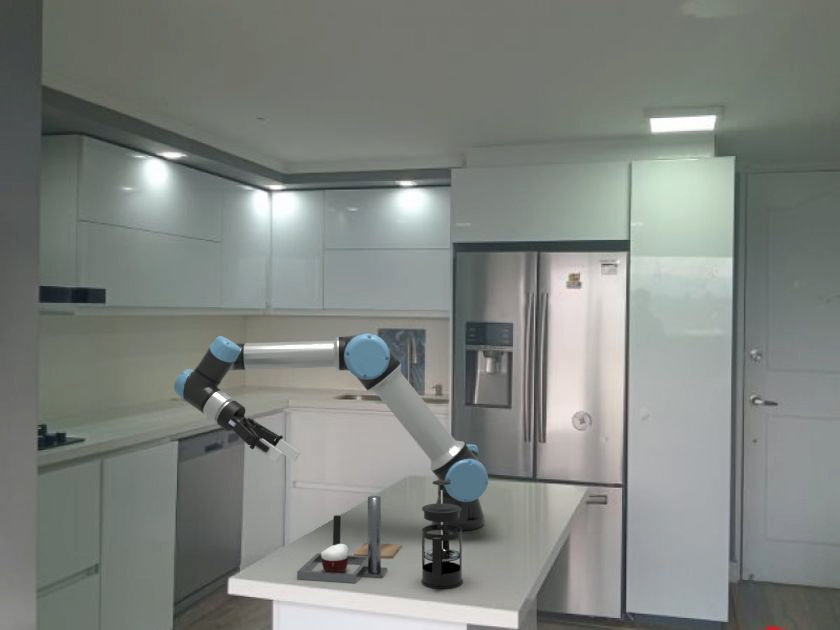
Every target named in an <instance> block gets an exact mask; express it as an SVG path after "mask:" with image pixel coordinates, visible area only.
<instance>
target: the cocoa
mask: <svg viewBox="0 0 840 630" xmlns="http://www.w3.org/2000/svg"><path fill="white" fill-rule="evenodd" d="M341 516H342V515H340V514H339V515H334V516H333V523H332V525H333V527H332V528H333V530H332V531H333V532H332V536H333V537H332V538H333V539H332V540H333V541H332V545H331V546H329V547H327V548H325V549H324V550H323V551H321V557H322V562H321V564H322V568H323V570H324V572H336V573H345V572H344V571H345V570H347V567H348V565H349V564H348V555H349V547H348V546H347V545H346V544H345V543H341V523H342V522H341V521H342V519H341Z"/></svg>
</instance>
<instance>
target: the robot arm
mask: <svg viewBox="0 0 840 630" xmlns="http://www.w3.org/2000/svg"><path fill="white" fill-rule="evenodd" d="M315 368H319V369H320V368H335V369H336V370H337V371H349V372H350V373H351V374H352V375H353V376H354V377H356V379H357V380H358V381H359V382H360V383H361V384H362V386H363V387H364V388H365V390H366V391H367V392H370V393H371V392H373V393H375V394H377V395H378V398H380V400H381V401H383V403H384V404H385V406H386V407H387V408H388V409H389V410H390V412H391V413H392V414H393V415H394V417H395V418H396V419H397V420H398V421H399V423H400V424H401V425H402V427H403V428H404V430H406V432H407V433H408V434H409V435H410V436H411V438H412V439H413V441H415V442H416V444H417V445H418V447H420V449H421V450H422V451H423V453H424V454H425V455H426V457H427V458H428V459H429V460H430V470H431V472H432V473H433V474H434V475H435V476H436V478H437V480H446V481H450V482H451V484H448V485H444V490H442V494H443V503H446V504H454V505H458V506H460V507H461V511H460V518H459V519H458V520H455V521H450V522H443V524H448V525H454V526H458V527H460V528H461V529H462V531H470V530H476V529H479V528H482V527H483V526H484V525H485V515H484V511H483V508H482V504H481V503H480V499H479V498H481V497H482V495H483V494H484V493H485V492H486V490H487V487H488V484H489V476H488V471H487V468H486V467H485V465H484V464H483V463H482V462H480V460H479V454H480V453H479V448H478V446H477V445H476V444H472V443H468V444H466V443H465V442H464V441H462V440H461V441H460V440H456V439H455V438H454V437H453V436H452V434H451V433H450V432H449V430H448V429H447V428H446V427H445V425H444V424H443V423H442V422H441V421H440V419H439V418H438V417H437V416H436V414H435V413H434V412H433V411H432V409H431V408H430V407H429V405H427V403H426V402H425V400H423V398H422V397H421V395H420V394H419V393H418V392H417V390H415V388H414V387H413V386H412V385H411V383H410V381H408V380H407V378H406V376H404V375H403V374H402V363H401V361H399V359H398V358H397V357H396V355H395V354H394V353H393V352H392V350H391V349H390V348H389V347H388V345H387V343H386V342H385V340H383V338H381V337H379V336H378V335H377V334H374V333H370V332H363V333H359V334H354V335H347V336H337V337H335V339H334V340H306V341H276V342H275V341H274V342H273V341H272V342H246V343H245V342H243V343H242V342H240V343H239V342H238V343H236V342H233V341H232V340H230V339H228V337H225V336H222V335H219V336H217V337H216V338H215V339H214V340H213V342H212V343H211V344H210V346H209V348H208V349H207V350H206V352H205V354H204V355H203V357H202V358H201V360H200V362H199V363H198V365H197V366H196V367H195V369H191V368H188V369H185V370H183V371H182V372H181V374H180V375H178V376H177V378H176V379H175V381H174V383H173V390H174V391H175V392H174V393H175V394H177V395H178V396H179V397H181V398H182V399H183V401H185V402H186V403H188V404H189V405H191V406H192V407H194V408H195V409H197V410H198V411H199V412H201V413H202V414H203V415H205V416H206V419H207V420H208V421H210V420H211V421H212V422H215V423H216V424H217V425H218V426H219V427H221V428H222V429H223V430H225V431H226V432H229V431H233V432H234V433H236V435H237V436H238V437H239V438H241V439H242V441H243V442H245V443H246V444H247V445H248V446H249V448H250V449H251V450H254V449H257V450H258V451H260V452H261V453H263V454H264V455H265V456H267V457H268V458H269V459H270V460H271V461H273V462H275V463H278V462H279V460H280V458H281V457H282V455H285V457H287V458H288V459H290V460H291V461H293V462H296V460H297V459H298V457H299V456H300V454H301V452H300V450H299V451H298V449H296V448H294V447H293V446H292V445H290V444H289V443H288V442H286V441H285V440H283V438H284V436H283V435H281V434H280V435H279V434H277V433H276V432H273V431H272V430H270V429H268V428H267V427H265V426H264V425H262V424H261V423H258V422H257V421H256V420H254V419H253V418H250V417H245V414H246V412H247V411H246V407H244V405H242V404H241V403H239V402H238V401H236V400H234V398H233V397H231V396H230V395H229V394H227V393H226V392H224V391H223V390H221V389H220V388H219V386H220V384H221V383H222V381H223V380H224V378H225V377H226V375H227V374H228V373H229V371H245V370H246V371H247V370H250V371H251V370H277V369H280V370H281V369H282V370H283V369H285V370H286V369H315ZM435 502H436V503H435V504H437V503H441V490H440V485H437V499H436V501H435ZM436 524H441V522H434V521H431V525H436Z"/></svg>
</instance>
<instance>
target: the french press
mask: <svg viewBox="0 0 840 630" xmlns="http://www.w3.org/2000/svg"><path fill="white" fill-rule="evenodd" d="M432 484H433V485H436V486H438V485H440V490H441V503H437V504H436V503H430V504H425V505H424V506H422V507H421V510H422V512H423V518H424V519H425V520H426V521H430V522H432V521H434V522H441V524H436V525H432V524H431V525H429V524H428V525H426V526H424V527H423V528H421V536H422V537H421V541H422V542H421V552H422V553H421V557H422V558H421V561H422V562H421V570H422V571H421V572H422V577H421V582H420V583H421V584H422V586H424V587H426V588H430V589H435V590H449V589H455V588H458V587H460V586H462V584H463V582H464V580H463V578H462V576H463V573H462V572H463V569H462V565H463V564H462V563H463V562H462V559H463V557H462V555H463V552H462V551H463V549H462V548H463V547H462V546H463V545H462V543H463V542H462V538H463V536H462V535H463V534H462V531H463V530H462V529H461V528H460V527H458V526H454V525H448V524H443V522H450V521H455V520H458V519H459V518H460V511H461V507H460V506H458V505H454V504H446V503H443V494H442V490H444V485H448V484H451V482H450V481H446V480H438V479H436V480H434V481H432ZM431 531H432V532H434V531H440V534H436V533H435V534H434V533H429V532H431ZM450 532H455V533H451V534H450ZM425 539H427V540H430V541H432V547H431V548H432V549H429V550H426V551H425V549H426V548H425V541H426V540H425ZM458 539H459V551H457V550H455V549H452V548H451V549H450V541H454V540H458ZM425 559H426V560H427V561H431V562H428V563H426V562H425V561H426V560H425ZM457 560H459V563H456V562H454V561H457Z"/></svg>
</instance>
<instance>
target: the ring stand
mask: <svg viewBox="0 0 840 630" xmlns="http://www.w3.org/2000/svg"><path fill="white" fill-rule="evenodd" d="M381 502H382V501H381V496H380V495H368V496H367V543H368V556H354V554H353V555H350V554H348V564H347V565H359V566H358V567H357V568H356V569H355V570H354V571H353V572H352V573H348V572H342V573H336V572H325V571H318V570H317V571H315V570H313V569H314V568H315V567H316V566H318V564H319V563H322V557H321V553H322V552H321V553H320V552H319V553H317V552H316V554H315V555H313V556H312V557H311V558H310V559H309V560H308V561H307V562H306V563H305V564H304V565H302V566H301V567H300V568H299V569H298V570H297V571H296V579H297V580H299V581H300V580H302V581H316V582H318V581H320V582H331V583H333V582H335V583H346V584H348V583H349V584H357V583H358V581H359V580H360V579H361V578H374V579H375V578H378V579H383V578H384V576H386V574H387V573H388V567H382V562H381V561H382V558H381V544H382V532H381V531H382V530H381V529H382V526H381V525H382V524H381V523H382V521H381V518H382V517H381V515H382V514H381V509H382V508H381V505H382V504H381Z"/></svg>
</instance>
